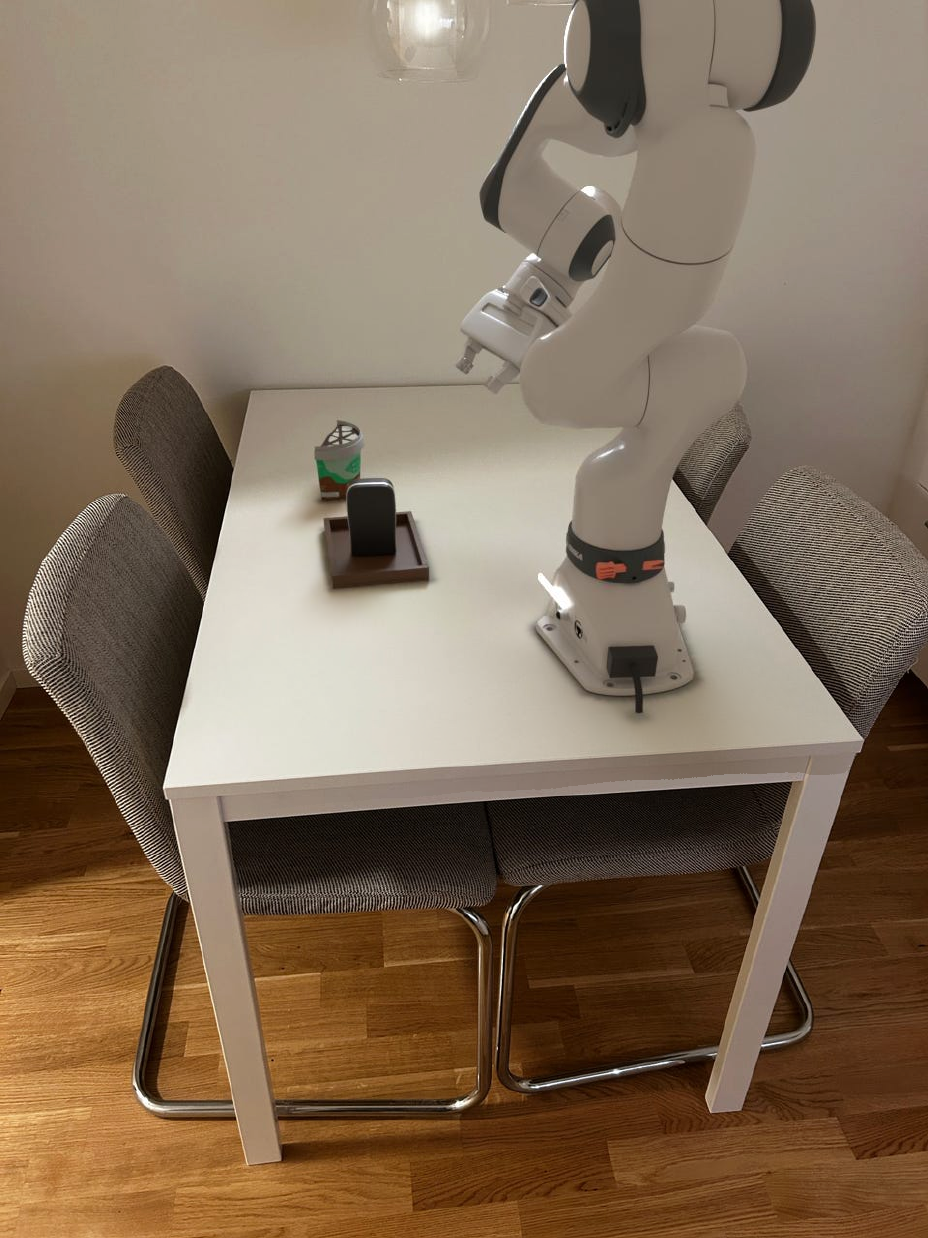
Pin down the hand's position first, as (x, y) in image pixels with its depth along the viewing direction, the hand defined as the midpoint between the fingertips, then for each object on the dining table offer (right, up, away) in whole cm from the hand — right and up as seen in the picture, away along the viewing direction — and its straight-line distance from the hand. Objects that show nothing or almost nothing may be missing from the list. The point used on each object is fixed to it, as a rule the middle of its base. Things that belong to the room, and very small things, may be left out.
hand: (474, 380), depth 134 cm
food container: (-21, -13, +23) cm, 34 cm away
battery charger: (-15, -24, +5) cm, 29 cm away
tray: (-15, -24, +5) cm, 29 cm away
